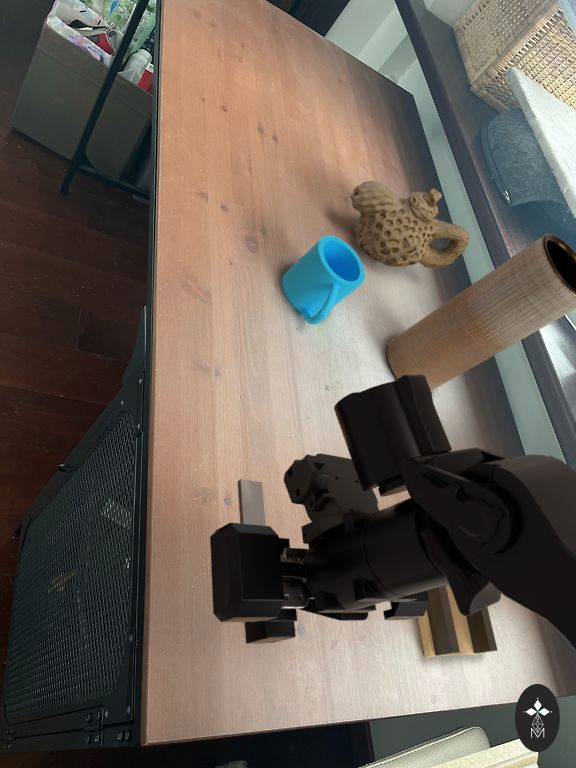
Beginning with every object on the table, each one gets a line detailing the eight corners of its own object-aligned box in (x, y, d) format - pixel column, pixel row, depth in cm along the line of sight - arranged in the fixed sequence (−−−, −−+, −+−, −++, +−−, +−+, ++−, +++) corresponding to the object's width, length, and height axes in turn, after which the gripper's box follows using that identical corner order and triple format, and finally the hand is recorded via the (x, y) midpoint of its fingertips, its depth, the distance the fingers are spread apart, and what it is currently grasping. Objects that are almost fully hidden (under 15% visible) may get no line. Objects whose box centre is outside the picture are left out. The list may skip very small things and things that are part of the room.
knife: (273, 642, 52) (296, 637, 50) (245, 644, 50) (267, 638, 48) (260, 484, 59) (279, 473, 56) (235, 480, 57) (254, 469, 55)
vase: (436, 401, 96) (603, 310, 77) (391, 387, 91) (558, 285, 72) (425, 347, 101) (579, 249, 82) (381, 331, 96) (535, 221, 76)
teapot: (322, 240, 97) (389, 177, 87) (328, 195, 104) (390, 132, 94) (419, 306, 106) (490, 256, 95) (419, 261, 113) (485, 210, 102)
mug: (285, 259, 89) (320, 225, 84) (329, 286, 93) (365, 255, 87) (275, 321, 82) (313, 288, 76) (323, 348, 86) (363, 318, 80)
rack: (464, 588, 81) (485, 582, 79) (479, 654, 77) (502, 650, 75) (411, 586, 76) (432, 580, 73) (424, 657, 72) (447, 653, 69)
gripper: (458, 458, 50) (336, 513, 61) (270, 418, 40) (162, 493, 51) (493, 600, 45) (352, 633, 56) (287, 597, 35) (163, 638, 45)
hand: (264, 597), depth 52 cm, fingers closed on knife, 3 cm apart
